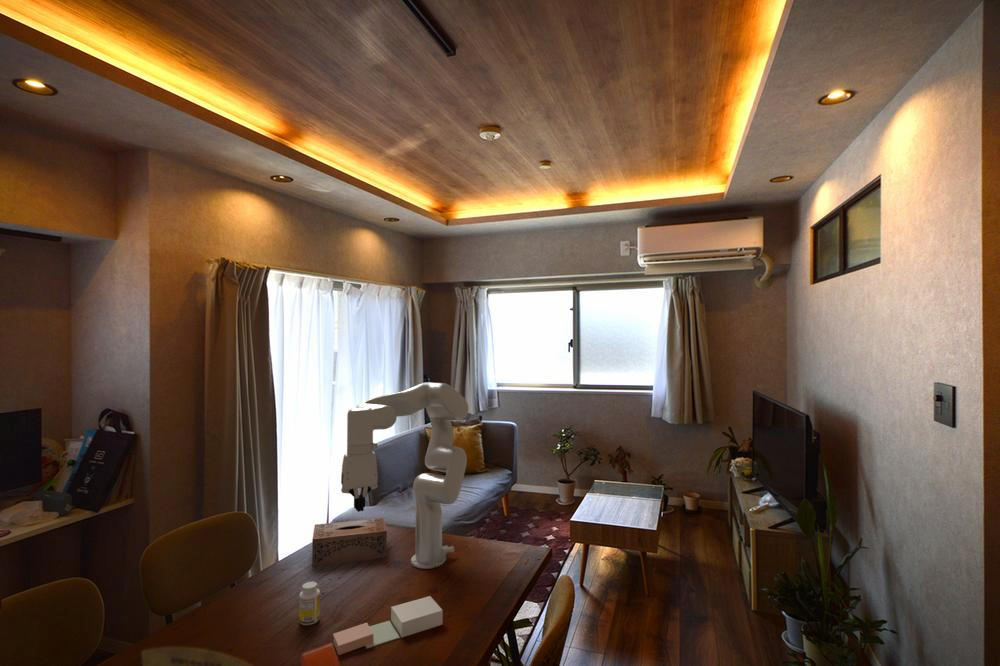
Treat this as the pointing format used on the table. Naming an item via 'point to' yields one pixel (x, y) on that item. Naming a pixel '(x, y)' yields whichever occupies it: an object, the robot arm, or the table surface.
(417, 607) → the white rectangular block
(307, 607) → the supplement bottle
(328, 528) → the tissue box cover
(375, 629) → the mat
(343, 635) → the pink rectangular block
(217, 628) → the table surface
